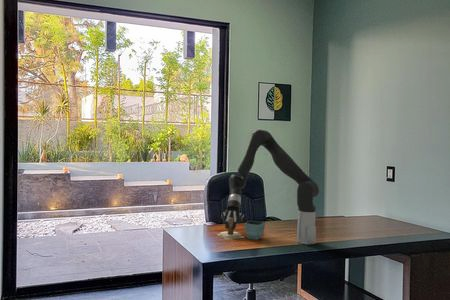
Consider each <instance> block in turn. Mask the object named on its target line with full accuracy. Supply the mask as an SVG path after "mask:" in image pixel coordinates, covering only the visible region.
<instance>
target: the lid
mask: <svg viewBox="0 0 450 300" xmlns="http://www.w3.org/2000/svg"><path fill="white" fill-rule="evenodd" d="M233 223H234V218H232V217H230V218H228V229H227V231H222V232H219V234H220V236H219V237H221V238H222V237H223V238H222V239H224V238H235V239H241V238H240V237H241V236H242V233H240V232H237V231H234V230H233Z"/></svg>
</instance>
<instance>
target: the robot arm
mask: <svg viewBox="0 0 450 300" xmlns="http://www.w3.org/2000/svg"><path fill="white" fill-rule="evenodd" d="M261 146H262V147H264V149H265V150H267V152H269V153H270V155H271V157H272V160H273V162H274V164H275V166H276V167H277V168H278V169H279V170H280V171H281V172H282V173H283V174H284V175H286V176H287V177H289V178H290V179H292V180H293V181H294V182H296V183H297V184H298V186H297V190H296V203H297V232H296V236H297V237H296V243H298V244H301V245H315V244H316V242H317V241H316V239H317V238H316V237H317V236H316V235H317V226H316V211H317V209H316V205H314V202H313V201H314V198H315V197H317V196H318V195H319V193H320V189H319V186H318V183H316V182H315V180H313V179H312V178H311V177H310V176H308V175H307V174H306V173H305V172H304V171H303V170H302V168H300V166H299V165H298V164H297V163H296V162H295V160H294V158H292V157H291V156H290V154H288V153H287V152H286V151H285V150H284V149H283V147H281V146H280V144H279V143H278V142H277V141H276V140H275V138H274V136H273V135H272V134H271V133H270V132H269V131H267V130H264V129H256V130H255V131H254V132H253V133H252V136H251V137H250V140H249V145H248V146H247V147H248V148H247V149H246V152H245V155H244V157H243V158H242V161H241V163H240V164H239V166H238V169H237V172H238V173H239V174H240V175H237V174H231V175H230V177H229V178H228V186H229V187H228V188H229V195H228V199H227V205H226V210H225V211H220V216H221V219H222V222H223V223H225V229H226V230H228V218H230V217H232V218H234V223H233V231H234V230H236V227H237V224H239V225H240V223H241V222H242V221H243V219H244V218H245V217H244V216H245V214H244V213H243V212H242V213H241V212H240V210H241V203H242V202H241V201H242V193H243V192H242V189H244V188H245V187H246V184H247V179H248V176H249V173H250V172H251V169H252V168H253V165H254V163H255V157H256V154H257V151H258V149H259V148H260V147H261ZM241 175H242V176H241ZM225 216H226V218H225Z"/></svg>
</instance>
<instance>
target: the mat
mask: <svg viewBox="0 0 450 300" xmlns="http://www.w3.org/2000/svg"><path fill="white" fill-rule="evenodd" d="M216 235H217V236H219V237H221V236H220V233H216ZM221 238H222V239H225V240H233V239H236V238H223V237H221ZM242 238H243V239H244V238H246V237H245V236H243V235H241V237H240V238H239V239H242Z"/></svg>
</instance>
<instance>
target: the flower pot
mask: <svg viewBox="0 0 450 300" xmlns="http://www.w3.org/2000/svg"><path fill="white" fill-rule="evenodd" d="M265 225H266V224H265V222H264V221H255V220H249V221H247V222H244V232H245V236H246V238H247V239H248V240H256V241H257V240H260V239H261V238H262V236H263V234H264V230H265Z"/></svg>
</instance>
